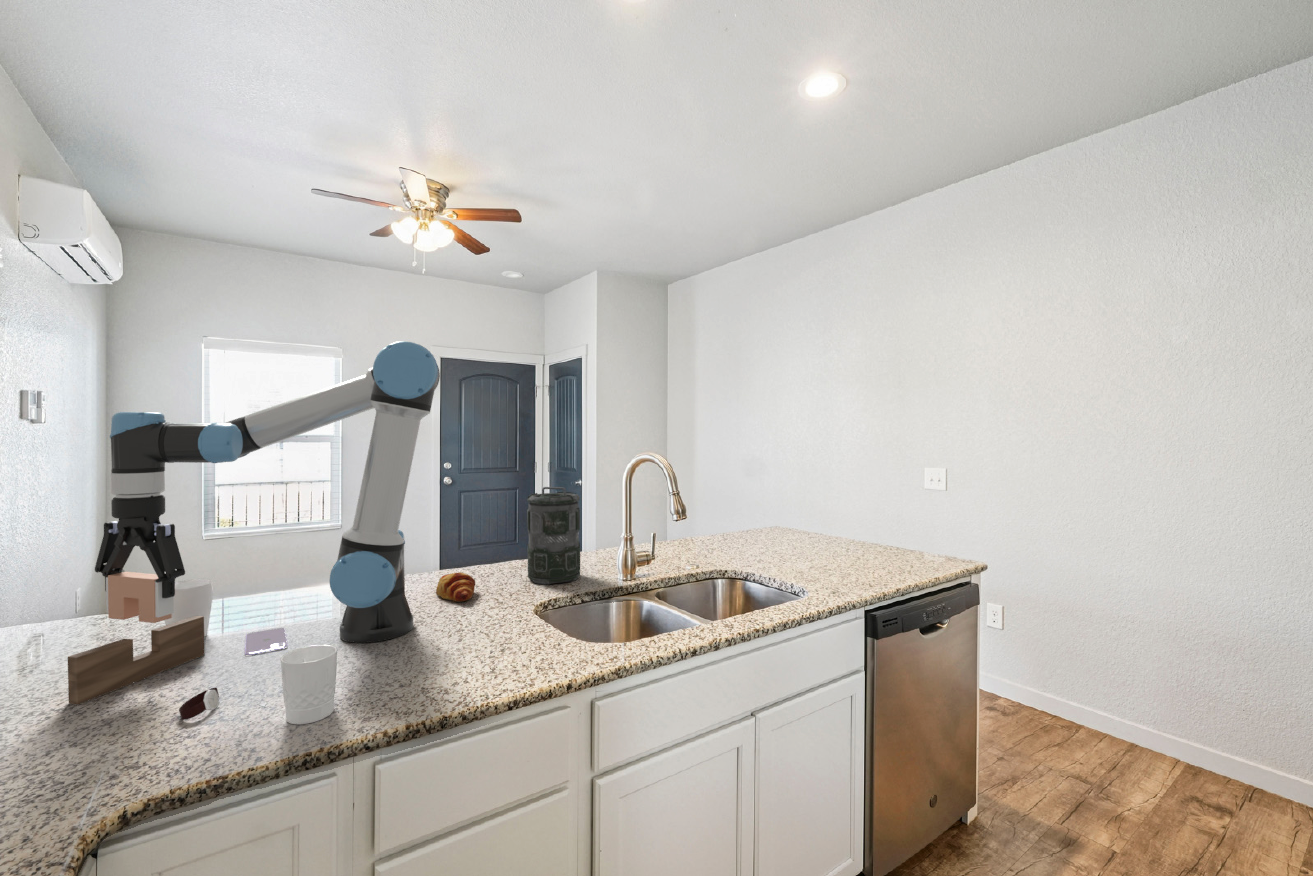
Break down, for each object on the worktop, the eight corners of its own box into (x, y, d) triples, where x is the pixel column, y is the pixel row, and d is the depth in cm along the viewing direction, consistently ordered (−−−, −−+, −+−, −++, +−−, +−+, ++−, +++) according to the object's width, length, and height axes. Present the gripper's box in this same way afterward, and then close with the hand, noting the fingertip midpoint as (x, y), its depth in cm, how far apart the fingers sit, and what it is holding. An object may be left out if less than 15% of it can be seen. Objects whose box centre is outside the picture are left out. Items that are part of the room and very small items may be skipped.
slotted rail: (204, 655, 121) (203, 616, 121) (77, 705, 100) (76, 657, 99) (196, 654, 121) (196, 615, 121) (68, 703, 100) (67, 656, 100)
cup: (185, 647, 125) (183, 591, 125) (150, 644, 127) (149, 588, 127) (224, 632, 134) (223, 580, 134) (191, 629, 136) (190, 578, 136)
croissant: (436, 600, 171) (422, 577, 168) (467, 579, 175) (454, 557, 173) (456, 618, 153) (441, 593, 151) (490, 594, 158) (475, 570, 156)
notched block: (171, 618, 110) (171, 575, 110) (154, 623, 107) (154, 579, 107) (126, 613, 113) (125, 571, 113) (108, 618, 110) (107, 575, 110)
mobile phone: (285, 626, 137) (288, 645, 124) (285, 630, 137) (288, 650, 124) (245, 632, 132) (244, 653, 120) (245, 636, 133) (244, 658, 120)
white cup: (297, 704, 100) (296, 645, 99) (346, 702, 100) (345, 643, 100) (271, 728, 92) (270, 664, 92) (324, 725, 92) (323, 662, 92)
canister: (519, 584, 174) (518, 489, 173) (538, 571, 190) (538, 484, 189) (571, 586, 171) (570, 490, 171) (586, 573, 187) (586, 484, 186)
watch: (204, 721, 94) (203, 698, 94) (169, 724, 93) (169, 702, 93) (227, 699, 102) (227, 678, 102) (196, 702, 101) (195, 681, 101)
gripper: (208, 495, 111) (209, 611, 111) (113, 490, 116) (114, 602, 116) (167, 499, 103) (168, 624, 104) (67, 495, 109) (68, 613, 109)
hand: (139, 612), depth 110 cm, fingers closed on notched block, 11 cm apart
